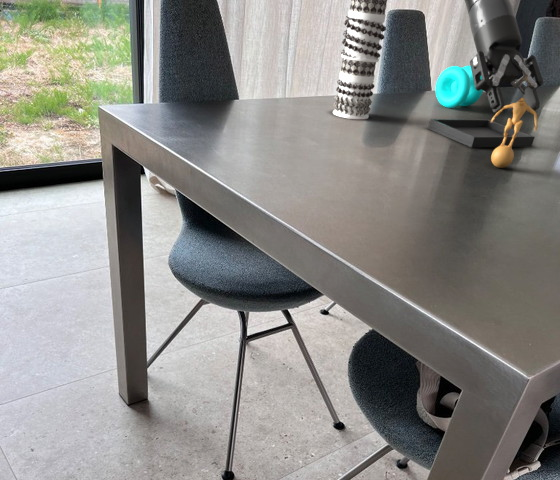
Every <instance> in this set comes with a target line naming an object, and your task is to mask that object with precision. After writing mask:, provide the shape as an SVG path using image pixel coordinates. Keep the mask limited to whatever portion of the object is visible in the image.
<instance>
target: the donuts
mask: <svg viewBox="0 0 560 480" xmlns="http://www.w3.org/2000/svg"><path fill="white" fill-rule="evenodd" d="M480 79H481V80H482V75H481V77H480ZM434 88H435V89H434V90H435V96H436V99H437V101H438V103H439V104H440V105H441V106H443V107H445V108H448V109H453V108H457V107H469V106H473V105H474V104H475V103H477V101H478V100H479V99H480V98H481V96H482V95H483V93H484V90H480V91H478V90H476V88H475V84H474V80H473V75H472V71H471V66H470V65H465V66H462V67H461V66H458V65H453V66H448V67H447V68H445V69H443V71H442V72H441V73H440V74H439V76H438V77H437V80H436V83H435V87H434Z"/></svg>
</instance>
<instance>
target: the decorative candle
mask: <svg viewBox="0 0 560 480" xmlns="http://www.w3.org/2000/svg"><path fill="white" fill-rule="evenodd" d="M387 3H388V0H351V1H350V7H349V10H348V13H347V14H348V15H347V16H345V17H346V18H347V19H345V20H344V22H343V25H344V26H345V28H346V29H345V30H344V31H343V33H342V36H343V37H344V38H343V39H342V41H341V44H342V45H343V46H344V48H343V49H341V52H340V53H341V56H340V58H342V61H341V67H340V68H341V69H340V71H339V77H338V78H339V79H337V81H336V84H337V85H338V86H337V87H336V88H335V91H336V92H337V94H336V95H335V96H334V101H335V102H334V103H333V108H334V109H333V111H332V114H333V115H334V116H337V117H340V118H344V119H349V120H367V119H369V113H370V111H371V107H370V106H371V105H372V102H373V101H372V99H371V97H372V96H373V95H374V92H373V91H372V90H373V89H374V88H375V84H374V82H375V77H376V75H375V71H376V65H377V63H378V62H379V61H380V58H381V54H380V53H379V51H381V50H382V49H383V46H382V45H381V44H380V41H382V40H384V39H385V35H384V34H383V33H384V32H385V31H386V30H387V27H386V26H385V25H384V24H385V22H386V17H387V16H386V15H387V14H386V11H387V10H386V9H387Z"/></svg>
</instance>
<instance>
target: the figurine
mask: <svg viewBox="0 0 560 480" xmlns="http://www.w3.org/2000/svg"><path fill="white" fill-rule="evenodd" d="M508 109H512V118H511V117H508V119H507V122H506V124H505V125H504V126H505V130H504V131H505V133H504V139H503V142H502V144H501V145H500V146H499V147H495V148H494V149H493V151H492V153H491V156H490V160H491V163H492V165H493V166H494V167H496V168H498V169H505V168H507V167H508V166H510V165H511V164H512V163H513V160H514V157H515V153H514V150H513V149H512V148H513V147H512V144H513V142H514V139H515V138H516V136H517V135H516V134H517V133H518V132H519V131H521V127H522V126H523V124H524V121H523V120H522V119H521V118H523V115H524V114H526V112H527V111H529V112H530V113H529V114H531V115H533V119H534V120H533V121H534V125H535V126H534V127H533V129H534V130H533V132H535V133H536V132H537V131H538V113H537V112H536V111H534V110H533V109H531V107H530V106H529V105H527V104H526V102H525V99H524V97H521V98H519V100H517V101H516V102H512V103H510V104H506V105H504V107H503V108H502V109H501V110H500V111H499V112H495V114H494V115H493V117H492V118H491V119H490V120H491V122H494V121H495V119H496V117H498V116H499V115H500V114H501V113H502V112H503V110H508ZM511 128H513V129H514V130H515V132H514V135H513V136H512V137H513V138H512V140H511V142H510V144H509V145H508V146H506V145H505V141H506V138H507V135H508V133H507V131H508V130H509V129H511Z"/></svg>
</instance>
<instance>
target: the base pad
mask: <svg viewBox="0 0 560 480" xmlns="http://www.w3.org/2000/svg"><path fill="white" fill-rule="evenodd" d="M491 120H492V119H480V118H479V119H474V118H473V119H470V118H469V119H468V118H467V119H461V118H447V119H446V118H430V119H429V123H428V128H427V129H428V130H430V131H431V132H435V133H437V134H439V135H441V136H444V137H446V138H448V139H450V140H452V141H455V142H457V143H460V144H462V145H464V146H466V147H468V148H471V149H473V148H478V149H479V148H480V149H481V148H497V147H499V146H500V145H501V144H502V142H503V139H504V133H505V131H504V130H505V126H506V125H504V124H502V123H499V122H496V121H493V122H491ZM514 132H515V130H514V128H513V127H511V129H509V130H508V131H507V133H508V135H507V138H506V141H505V145H506V146H508V145H509V144H510V142H511V140H512V138H513V137H512V136H513V135H514ZM516 135H517V136H516V138H515V139H514V142H513V144H512V148H525V147H526V148H528V147H530V148H531V147H532V146H533V144H534V141H535V137H536V136H535V135H531V134H528V133H525V132H523V131H521V130H519V132H518V133H517V134H516Z"/></svg>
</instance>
